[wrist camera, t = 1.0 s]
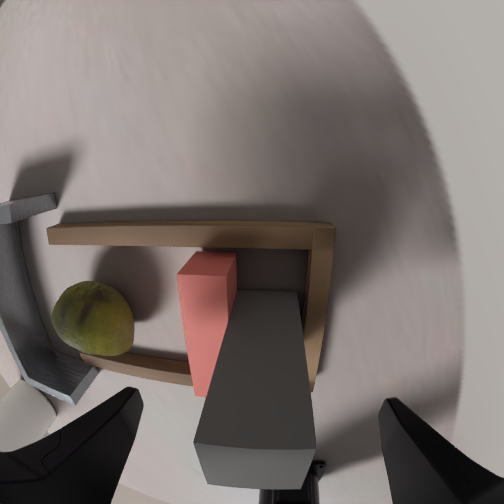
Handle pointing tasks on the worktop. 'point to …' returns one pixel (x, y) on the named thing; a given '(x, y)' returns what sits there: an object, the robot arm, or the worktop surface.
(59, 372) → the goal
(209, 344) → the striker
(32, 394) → the can
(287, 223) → the brown wooden flat frame
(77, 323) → the lime
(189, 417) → the worktop surface
